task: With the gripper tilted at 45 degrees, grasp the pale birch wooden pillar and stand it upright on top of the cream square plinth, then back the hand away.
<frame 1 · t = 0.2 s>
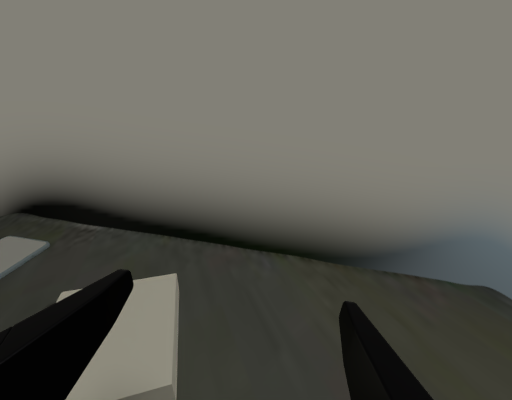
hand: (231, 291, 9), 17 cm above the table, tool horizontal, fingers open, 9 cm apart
cream plinth: (115, 348, 23), on the table
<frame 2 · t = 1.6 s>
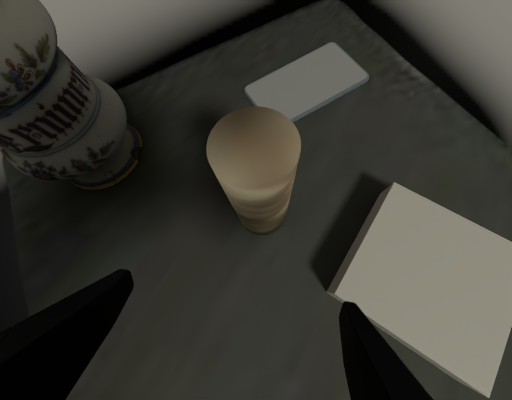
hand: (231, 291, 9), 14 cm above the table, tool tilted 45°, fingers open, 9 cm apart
smartphone: (304, 88, 31), on the table
birch pillar: (262, 211, 25), on the table
apothecary jar: (105, 154, 29), on the table
cream plinth: (413, 274, 22), on the table
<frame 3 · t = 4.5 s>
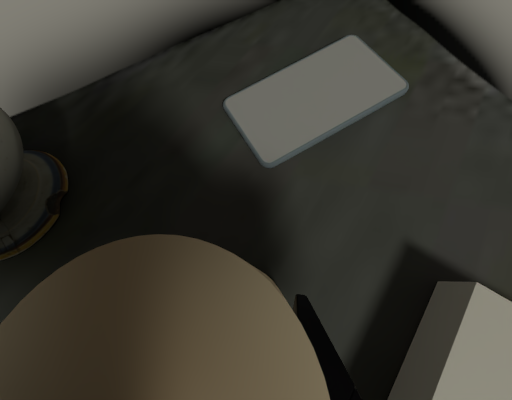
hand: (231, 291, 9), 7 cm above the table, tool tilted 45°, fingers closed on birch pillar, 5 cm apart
smartphone: (311, 102, 21), on the table
birch pillar: (244, 308, 15), on the table, touching gripper
apothecary jar: (14, 202, 19), on the table
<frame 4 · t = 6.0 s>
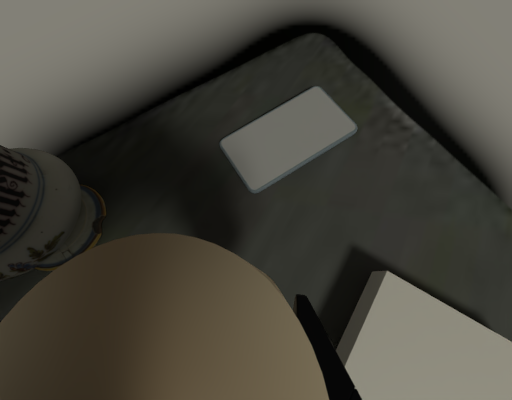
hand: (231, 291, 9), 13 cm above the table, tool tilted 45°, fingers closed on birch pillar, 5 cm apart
smartphone: (286, 139, 28), on the table
birch pillar: (244, 307, 15), point 7 cm above the table, touching gripper
apothecary jar: (66, 225, 26), on the table
cream plinth: (411, 375, 19), on the table
when the fingers open (11 cm above the table, at t = 8.0 s): birch pillar drops 1 cm, resting on cream plinth.
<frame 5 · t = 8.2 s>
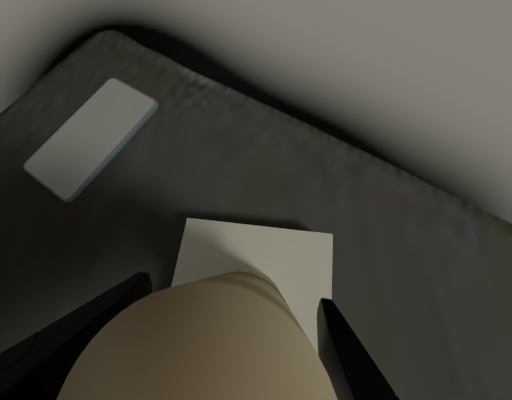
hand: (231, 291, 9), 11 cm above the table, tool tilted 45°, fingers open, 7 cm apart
smartphone: (98, 138, 27), on the table
birch pillar: (246, 306, 16), point 3 cm above the table, touching cream plinth
cream plinth: (250, 301, 19), on the table
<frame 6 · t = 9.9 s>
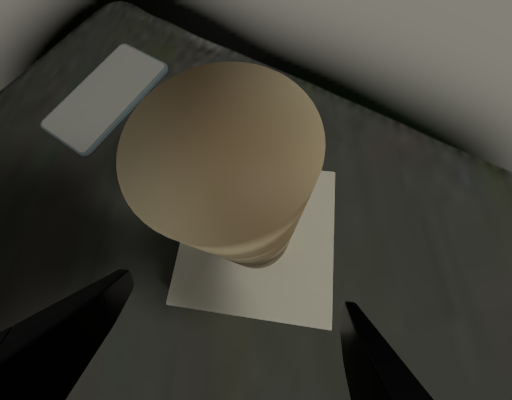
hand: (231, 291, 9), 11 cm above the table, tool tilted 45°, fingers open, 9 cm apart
smartphone: (110, 100, 28), on the table
birch pillar: (255, 234, 18), point 3 cm above the table, touching cream plinth
cream plinth: (258, 239, 21), on the table
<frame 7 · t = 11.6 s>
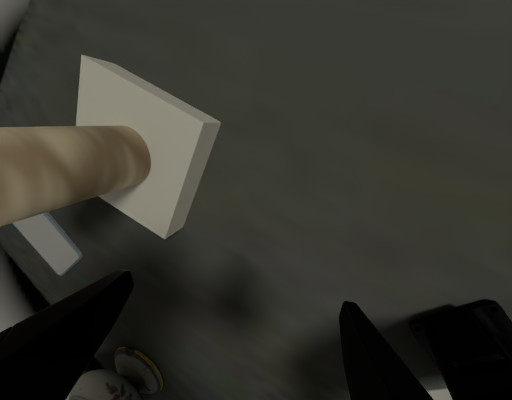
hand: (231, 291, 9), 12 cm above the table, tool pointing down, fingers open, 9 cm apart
smartphone: (44, 225, 34), on the table
birch pillar: (127, 155, 20), point 3 cm above the table, touching cream plinth
apothecary jar: (139, 367, 38), on the table
cream plinth: (151, 151, 23), on the table
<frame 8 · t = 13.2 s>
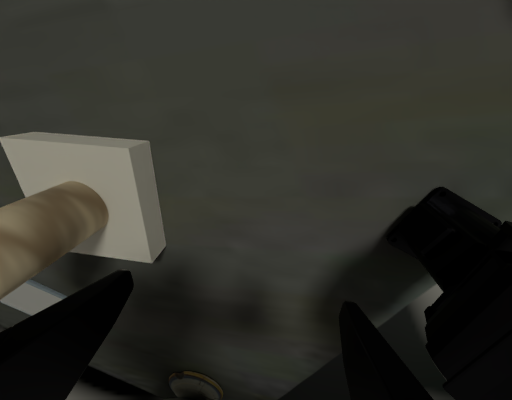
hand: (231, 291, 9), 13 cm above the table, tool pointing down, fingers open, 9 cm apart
smartphone: (52, 301, 35), on the table
birch pillar: (82, 206, 21), point 3 cm above the table, touching cream plinth
apothecary jar: (196, 385, 40), on the table
cream plinth: (105, 193, 24), on the table
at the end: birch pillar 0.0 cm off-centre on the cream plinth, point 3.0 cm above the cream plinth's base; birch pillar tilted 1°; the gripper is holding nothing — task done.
